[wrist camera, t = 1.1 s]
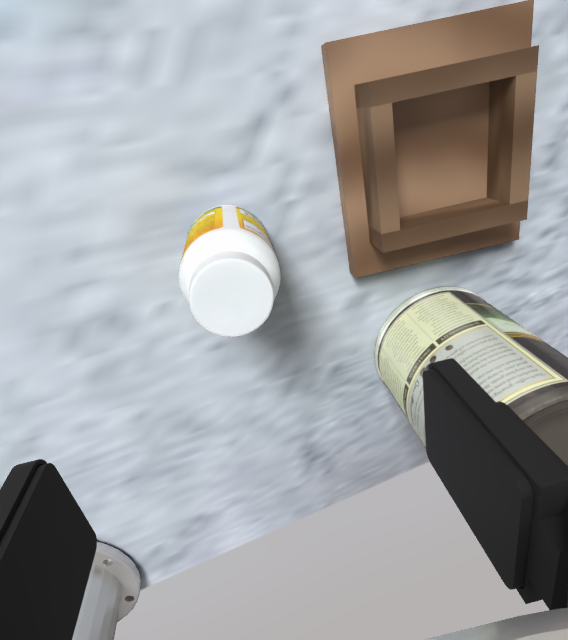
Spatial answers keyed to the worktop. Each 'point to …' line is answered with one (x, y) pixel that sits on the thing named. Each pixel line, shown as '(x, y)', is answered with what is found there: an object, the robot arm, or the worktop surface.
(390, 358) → the coffee can
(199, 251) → the supplement bottle
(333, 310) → the worktop surface
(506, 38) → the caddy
